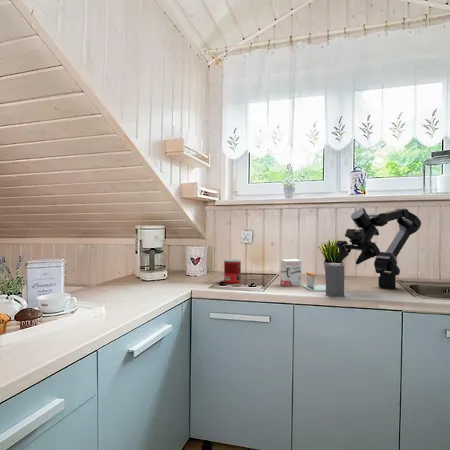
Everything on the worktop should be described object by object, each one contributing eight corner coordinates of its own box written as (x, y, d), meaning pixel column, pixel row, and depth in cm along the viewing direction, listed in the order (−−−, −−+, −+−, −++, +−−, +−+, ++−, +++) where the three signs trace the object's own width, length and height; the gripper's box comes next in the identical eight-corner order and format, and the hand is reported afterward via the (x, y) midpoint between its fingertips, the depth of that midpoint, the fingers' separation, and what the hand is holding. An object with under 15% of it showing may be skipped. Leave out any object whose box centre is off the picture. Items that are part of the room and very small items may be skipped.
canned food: (240, 284, 167) (240, 260, 167) (224, 283, 167) (224, 260, 167) (240, 281, 175) (240, 259, 175) (224, 281, 175) (224, 259, 175)
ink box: (284, 286, 161) (284, 260, 161) (280, 284, 165) (280, 259, 165) (301, 285, 163) (302, 260, 163) (296, 284, 168) (296, 259, 168)
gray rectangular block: (334, 293, 145) (334, 262, 145) (344, 295, 141) (344, 263, 141) (325, 294, 143) (325, 263, 143) (335, 296, 138) (335, 264, 138)
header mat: (329, 285, 163) (329, 284, 163) (340, 290, 150) (340, 290, 150) (302, 285, 162) (302, 285, 162) (310, 291, 150) (310, 290, 150)
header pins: (310, 286, 160) (310, 271, 160) (315, 289, 152) (315, 274, 152) (306, 286, 160) (306, 271, 160) (311, 289, 152) (311, 274, 152)
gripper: (338, 222, 156) (320, 247, 150) (375, 222, 140) (356, 250, 134) (351, 239, 160) (333, 265, 154) (388, 241, 144) (370, 270, 138)
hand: (347, 262), depth 145 cm, fingers open, 9 cm apart
